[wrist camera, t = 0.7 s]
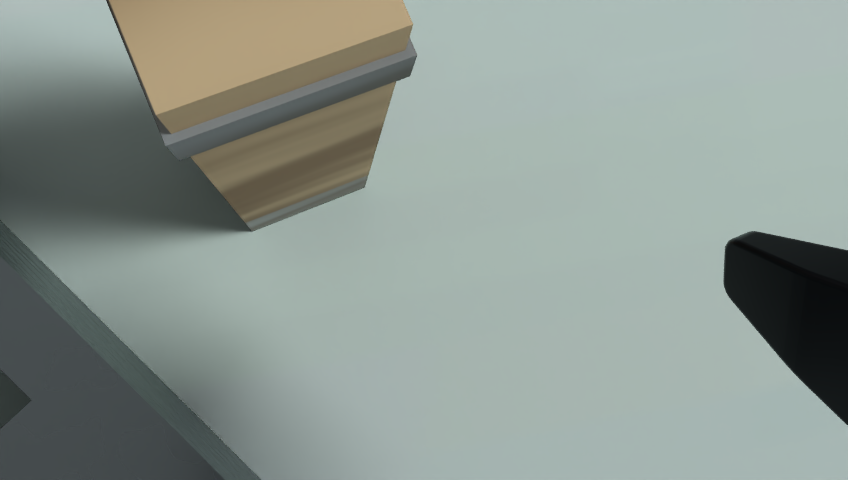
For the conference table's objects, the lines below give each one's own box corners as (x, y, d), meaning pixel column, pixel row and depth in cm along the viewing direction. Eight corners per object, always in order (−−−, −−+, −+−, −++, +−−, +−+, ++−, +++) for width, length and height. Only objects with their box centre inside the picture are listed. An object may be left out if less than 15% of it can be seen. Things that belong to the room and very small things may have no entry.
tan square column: (370, 189, 23) (425, 29, 10) (249, 237, 22) (149, 128, 10) (321, 75, 23) (317, -220, 11) (200, 118, 23) (38, -143, 10)
